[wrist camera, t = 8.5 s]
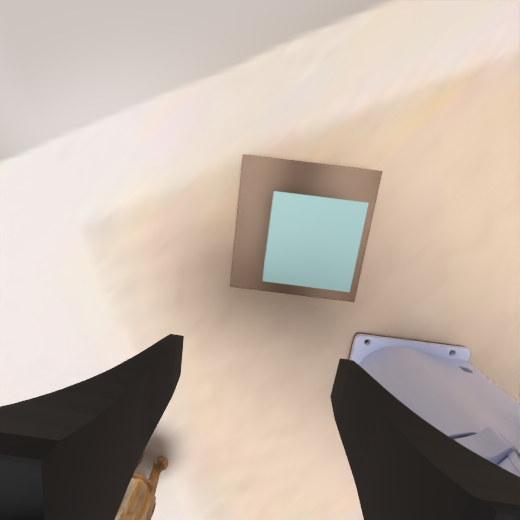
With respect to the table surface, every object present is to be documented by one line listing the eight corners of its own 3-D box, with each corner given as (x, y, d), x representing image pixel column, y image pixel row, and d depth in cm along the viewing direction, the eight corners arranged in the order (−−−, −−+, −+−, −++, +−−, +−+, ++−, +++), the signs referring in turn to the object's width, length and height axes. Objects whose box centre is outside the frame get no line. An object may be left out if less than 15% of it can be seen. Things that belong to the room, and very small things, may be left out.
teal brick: (340, 202, 17) (368, 202, 12) (328, 267, 18) (349, 292, 13) (272, 193, 17) (274, 191, 12) (264, 259, 18) (262, 281, 13)
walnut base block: (367, 175, 19) (382, 171, 17) (344, 290, 21) (354, 302, 19) (246, 160, 19) (242, 154, 17) (234, 276, 21) (230, 286, 19)
